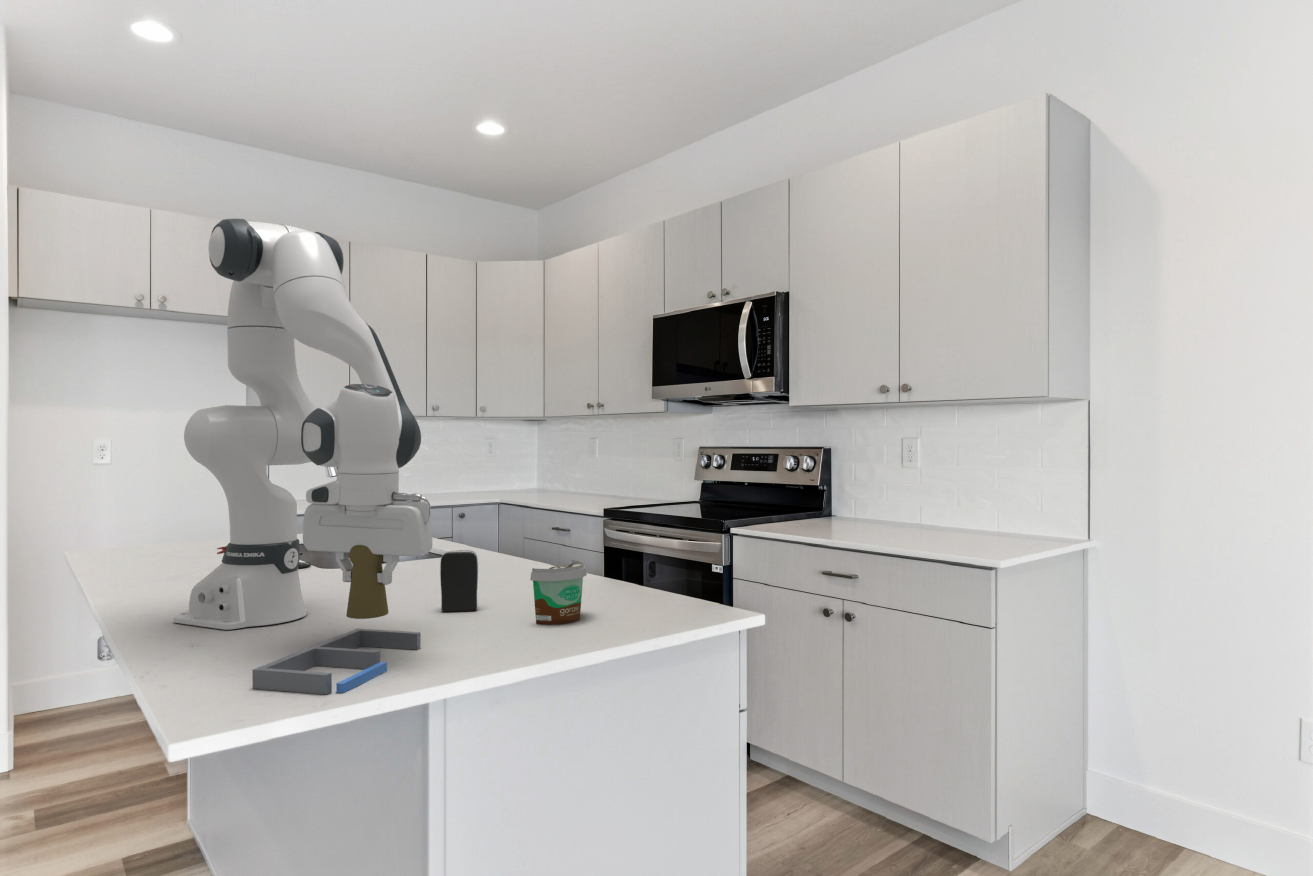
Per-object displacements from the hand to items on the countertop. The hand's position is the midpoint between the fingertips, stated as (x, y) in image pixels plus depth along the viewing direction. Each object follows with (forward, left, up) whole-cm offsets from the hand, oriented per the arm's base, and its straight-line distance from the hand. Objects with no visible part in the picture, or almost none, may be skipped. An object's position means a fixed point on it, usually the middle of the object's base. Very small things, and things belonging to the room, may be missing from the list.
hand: (367, 582), depth 120 cm
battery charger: (-1, +32, -11) cm, 34 cm away
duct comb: (+1, -6, -11) cm, 13 cm away
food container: (+22, +28, -11) cm, 37 cm away
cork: (0, 0, -5) cm, 5 cm away
